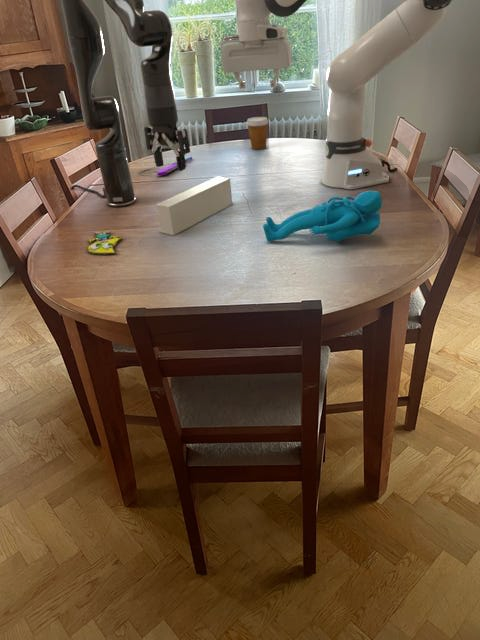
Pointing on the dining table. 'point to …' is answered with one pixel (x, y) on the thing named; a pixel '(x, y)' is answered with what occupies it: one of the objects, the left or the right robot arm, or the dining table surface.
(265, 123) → the disposable coffee cup
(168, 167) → the musical instrument
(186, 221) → the bar
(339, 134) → the right robot arm
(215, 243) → the dining table surface
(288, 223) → the toy
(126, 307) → the dining table surface
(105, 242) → the toy
